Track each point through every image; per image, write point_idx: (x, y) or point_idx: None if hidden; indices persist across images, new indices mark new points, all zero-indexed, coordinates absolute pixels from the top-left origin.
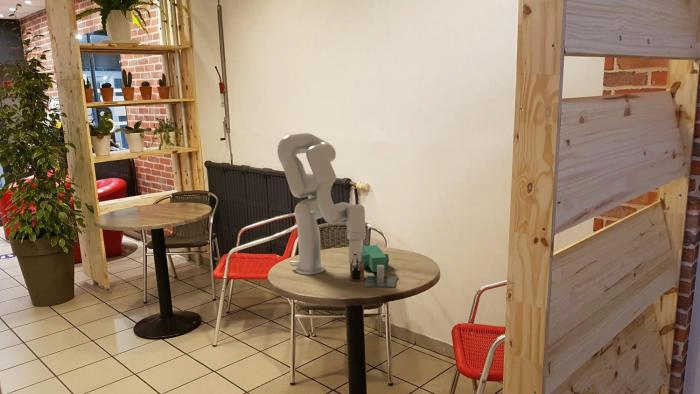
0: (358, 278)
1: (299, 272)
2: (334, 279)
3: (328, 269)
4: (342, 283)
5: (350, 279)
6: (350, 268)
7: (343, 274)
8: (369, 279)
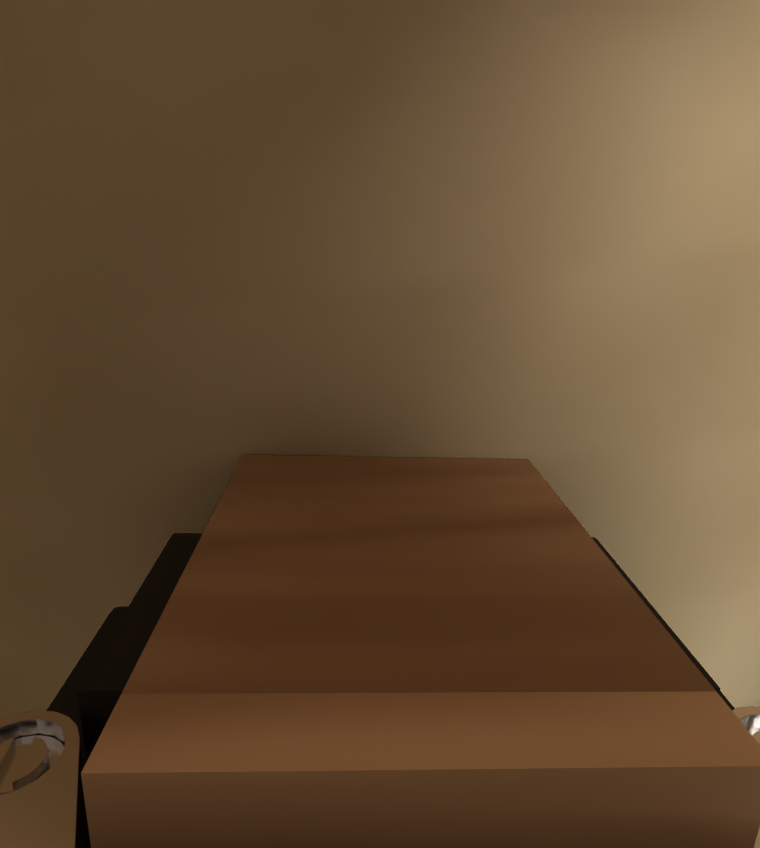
0: None
1: None
2: (322, 20)
3: None
4: (31, 288)
5: (238, 467)
6: (145, 656)
7: (715, 235)
8: None
